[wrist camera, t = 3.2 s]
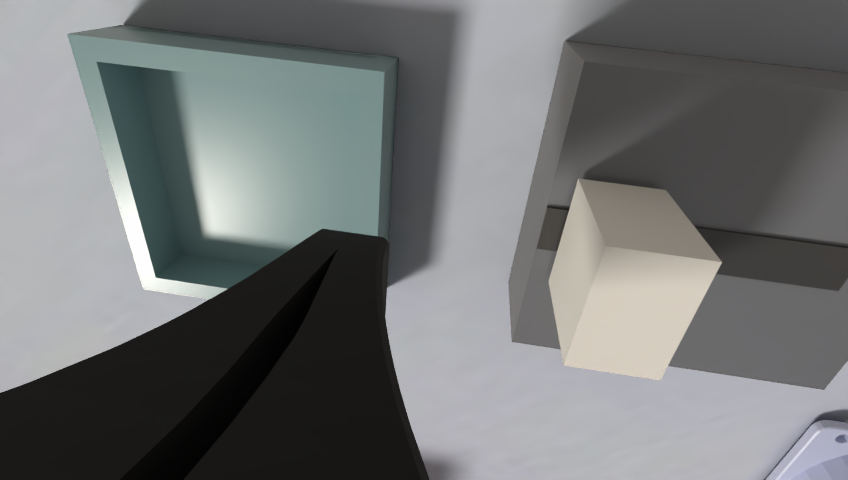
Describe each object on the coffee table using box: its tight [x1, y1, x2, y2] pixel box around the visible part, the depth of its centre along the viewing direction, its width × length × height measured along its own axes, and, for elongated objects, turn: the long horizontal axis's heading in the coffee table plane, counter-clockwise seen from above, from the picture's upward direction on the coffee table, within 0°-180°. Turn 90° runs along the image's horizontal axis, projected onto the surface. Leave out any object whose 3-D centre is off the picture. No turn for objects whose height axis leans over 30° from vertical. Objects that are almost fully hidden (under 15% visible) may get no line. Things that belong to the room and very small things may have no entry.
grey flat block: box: [509, 41, 848, 390], centre depth 13 cm, size 9×8×3 cm
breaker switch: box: [548, 179, 722, 380], centre depth 10 cm, size 2×3×3 cm, turn 175°
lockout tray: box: [67, 25, 399, 299], centre depth 14 cm, size 8×8×2 cm
